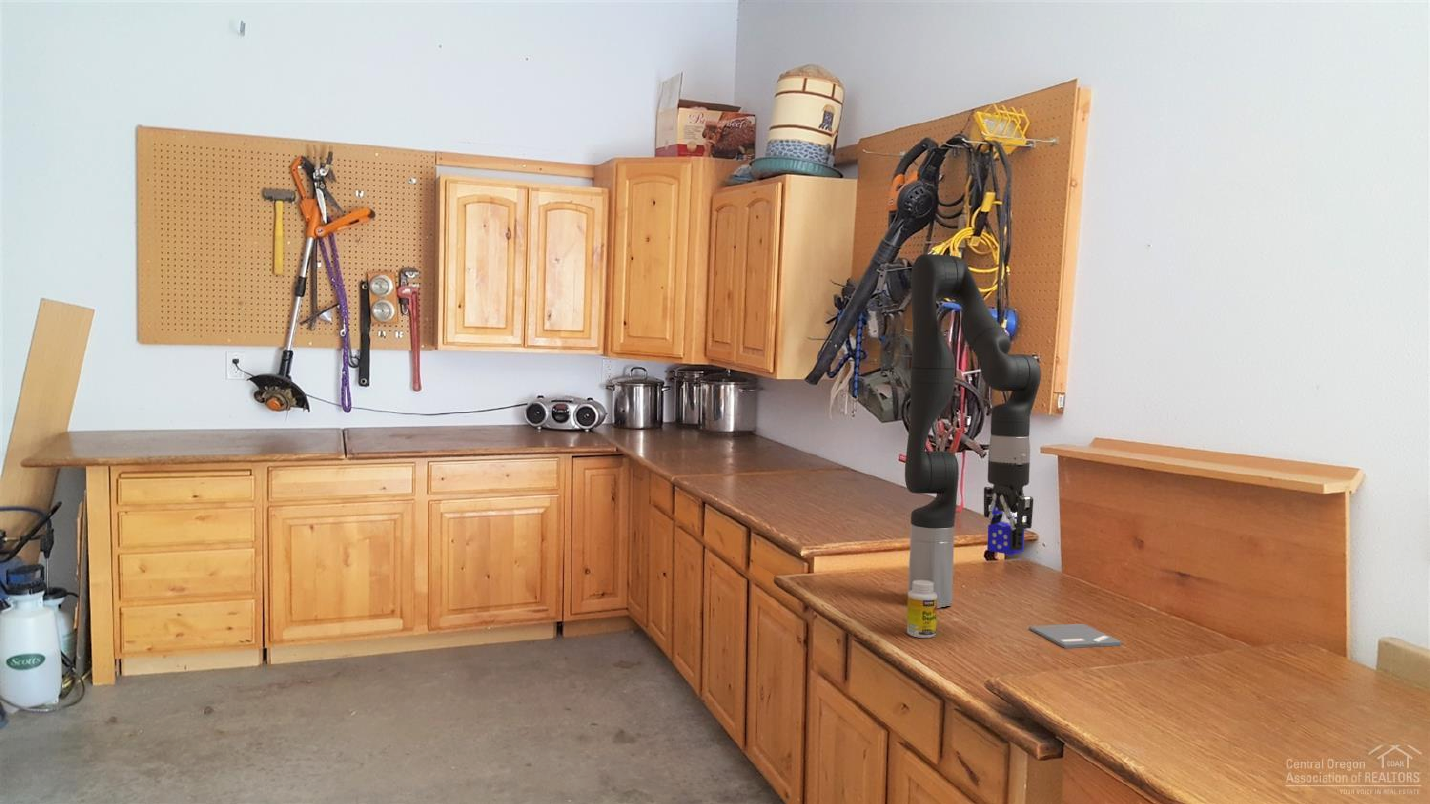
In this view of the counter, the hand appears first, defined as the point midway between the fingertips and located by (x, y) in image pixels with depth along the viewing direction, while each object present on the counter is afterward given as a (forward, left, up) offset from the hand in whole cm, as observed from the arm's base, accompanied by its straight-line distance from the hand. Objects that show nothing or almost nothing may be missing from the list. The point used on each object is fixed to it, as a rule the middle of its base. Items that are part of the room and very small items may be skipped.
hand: (1005, 545), depth 173 cm
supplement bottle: (-4, -15, -18) cm, 24 cm away
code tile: (+2, +14, -18) cm, 23 cm away
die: (0, 0, -1) cm, 1 cm away
